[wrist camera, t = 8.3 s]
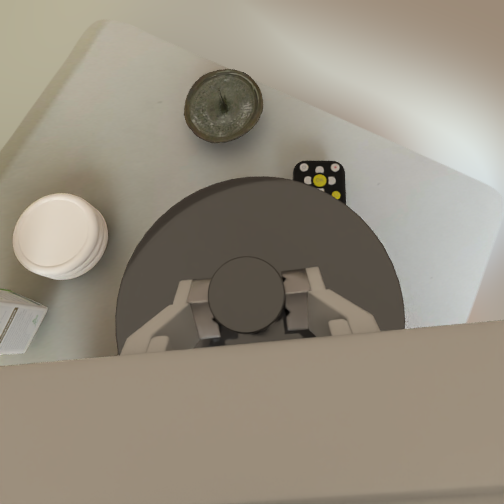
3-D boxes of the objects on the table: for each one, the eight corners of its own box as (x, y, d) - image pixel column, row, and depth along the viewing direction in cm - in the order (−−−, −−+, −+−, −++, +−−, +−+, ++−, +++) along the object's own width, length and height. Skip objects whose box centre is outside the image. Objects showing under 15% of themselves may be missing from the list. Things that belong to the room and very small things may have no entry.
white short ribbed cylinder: (96, 287, 41) (80, 282, 38) (18, 273, 42) (-4, 266, 39) (119, 209, 44) (106, 198, 40) (46, 197, 44) (27, 185, 41)
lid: (275, 111, 48) (278, 78, 43) (238, 157, 43) (238, 125, 39) (210, 85, 50) (207, 51, 46) (169, 126, 46) (161, 92, 41)
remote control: (292, 264, 41) (293, 260, 39) (292, 166, 44) (293, 158, 42) (345, 265, 40) (349, 261, 38) (342, 166, 44) (345, 158, 42)
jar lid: (326, 525, 15) (357, 647, 9) (74, 370, 17) (-33, 385, 11) (438, 250, 18) (520, 202, 12) (205, 149, 20) (174, 67, 14)
